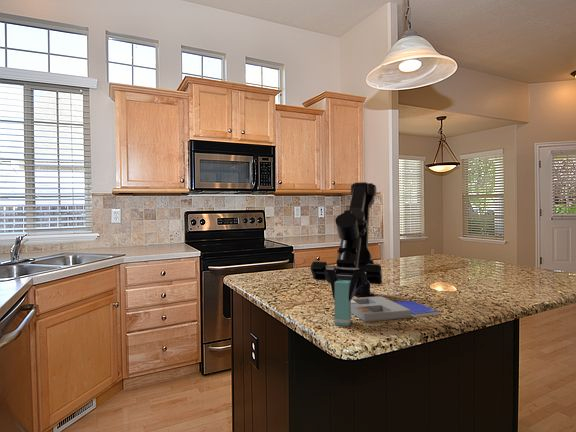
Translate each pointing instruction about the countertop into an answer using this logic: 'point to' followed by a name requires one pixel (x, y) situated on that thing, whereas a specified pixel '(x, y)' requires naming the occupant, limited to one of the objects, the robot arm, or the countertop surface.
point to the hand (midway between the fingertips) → (341, 299)
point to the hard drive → (418, 308)
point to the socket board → (378, 309)
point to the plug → (342, 303)
